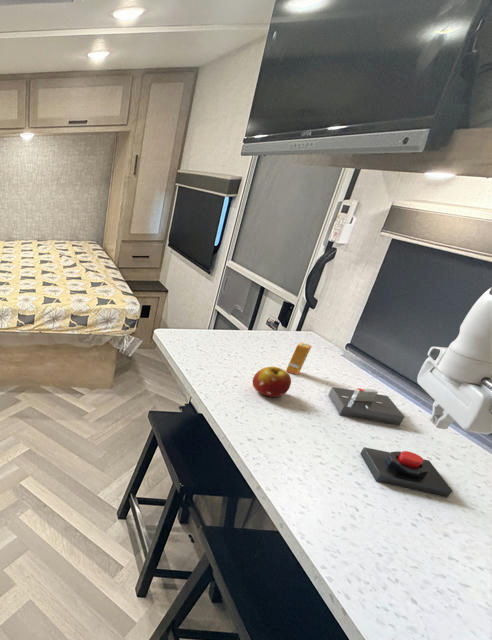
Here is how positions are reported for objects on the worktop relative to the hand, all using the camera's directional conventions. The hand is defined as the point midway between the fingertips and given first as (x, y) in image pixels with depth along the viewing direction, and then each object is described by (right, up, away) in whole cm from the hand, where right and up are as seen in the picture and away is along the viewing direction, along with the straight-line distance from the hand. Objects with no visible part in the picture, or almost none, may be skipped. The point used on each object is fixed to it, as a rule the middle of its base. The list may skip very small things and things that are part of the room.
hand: (437, 424), depth 83 cm
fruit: (-10, +3, +37) cm, 39 cm away
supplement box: (+6, +10, +48) cm, 49 cm away
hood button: (-1, -9, +5) cm, 10 cm away
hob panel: (+11, 0, +29) cm, 31 cm away
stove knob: (+10, +2, +28) cm, 30 cm away
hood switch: (-1, -12, +7) cm, 14 cm away
